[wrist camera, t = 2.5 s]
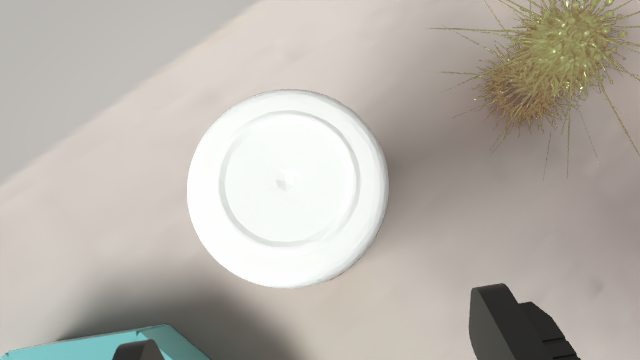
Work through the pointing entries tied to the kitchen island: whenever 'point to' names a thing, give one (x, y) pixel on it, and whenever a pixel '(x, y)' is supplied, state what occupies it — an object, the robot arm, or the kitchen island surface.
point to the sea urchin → (553, 59)
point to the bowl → (110, 346)
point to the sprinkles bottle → (288, 188)
